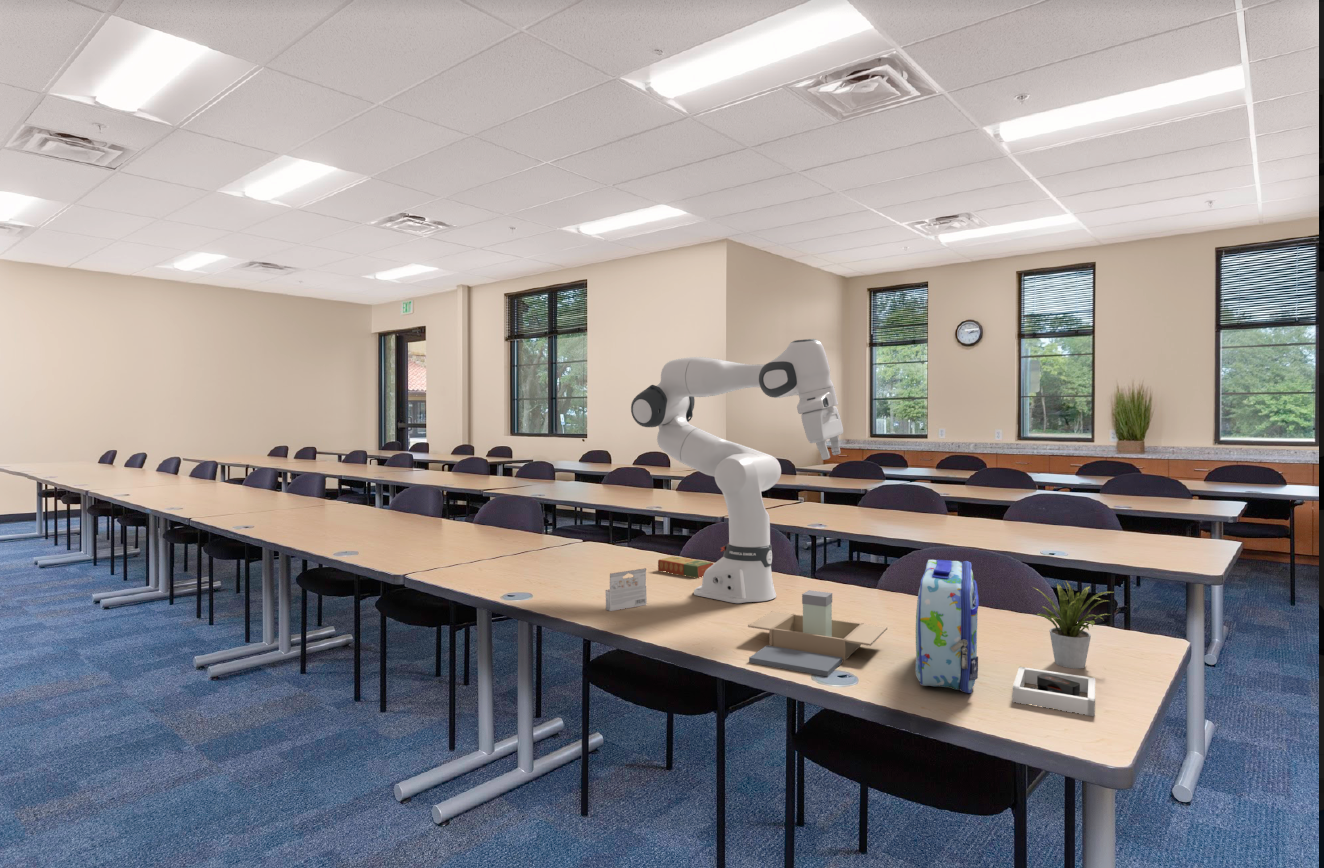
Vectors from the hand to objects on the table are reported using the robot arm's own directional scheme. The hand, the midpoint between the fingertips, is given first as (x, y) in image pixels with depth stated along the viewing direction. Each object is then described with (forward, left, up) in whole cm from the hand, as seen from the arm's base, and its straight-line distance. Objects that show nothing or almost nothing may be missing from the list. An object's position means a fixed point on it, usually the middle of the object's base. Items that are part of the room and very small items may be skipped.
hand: (831, 456), depth 180 cm
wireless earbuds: (+50, -34, -39) cm, 72 cm away
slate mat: (+5, -39, -39) cm, 55 cm away
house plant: (+53, -14, -39) cm, 67 cm away
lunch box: (+32, -31, -39) cm, 59 cm away
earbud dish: (+50, -34, -39) cm, 72 cm away
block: (+5, -26, -39) cm, 47 cm away
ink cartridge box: (-48, -20, -39) cm, 65 cm away
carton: (-55, +24, -39) cm, 72 cm away
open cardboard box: (+5, -26, -39) cm, 47 cm away
